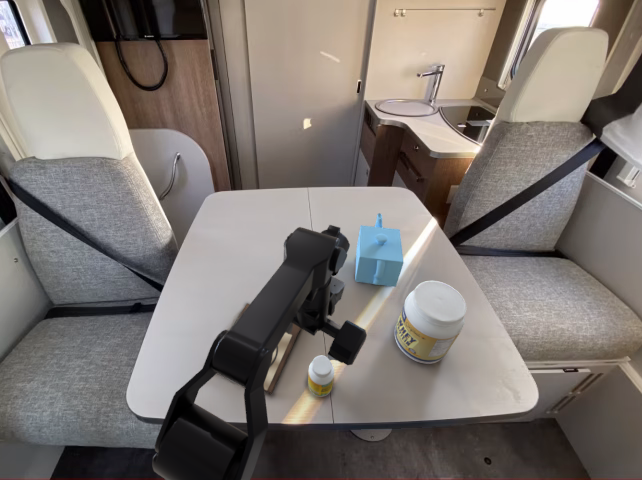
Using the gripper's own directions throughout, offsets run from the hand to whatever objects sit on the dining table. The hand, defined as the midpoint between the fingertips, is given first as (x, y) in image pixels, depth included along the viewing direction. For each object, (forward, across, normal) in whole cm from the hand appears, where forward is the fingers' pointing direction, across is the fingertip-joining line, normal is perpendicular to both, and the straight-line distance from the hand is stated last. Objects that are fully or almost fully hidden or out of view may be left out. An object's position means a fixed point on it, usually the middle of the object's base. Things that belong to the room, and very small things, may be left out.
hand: (309, 344), depth 59 cm
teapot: (+15, +1, -39) cm, 42 cm away
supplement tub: (+15, -18, -23) cm, 33 cm away
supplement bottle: (+15, -3, 0) cm, 16 cm away
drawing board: (+15, +14, 0) cm, 21 cm away
